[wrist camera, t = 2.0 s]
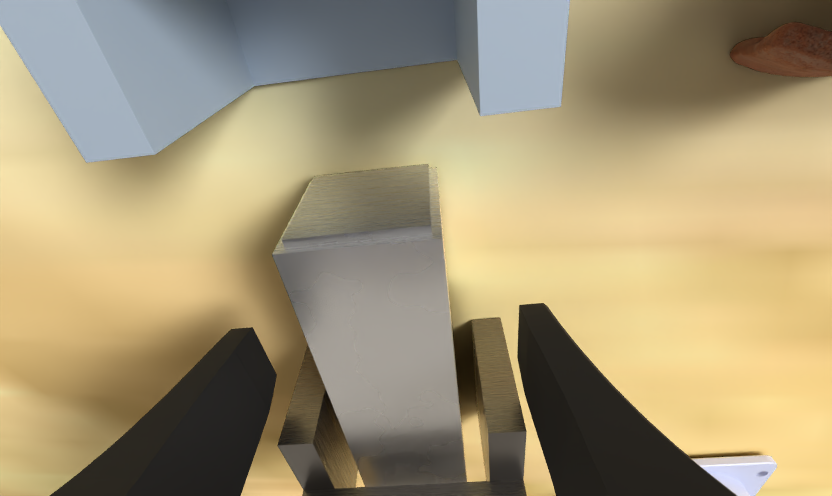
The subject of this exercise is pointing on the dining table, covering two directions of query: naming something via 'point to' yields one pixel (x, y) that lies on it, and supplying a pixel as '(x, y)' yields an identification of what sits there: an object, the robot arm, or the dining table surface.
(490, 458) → the sleeve
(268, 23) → the socket
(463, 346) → the dining table surface
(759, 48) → the pottery mug
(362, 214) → the bar
